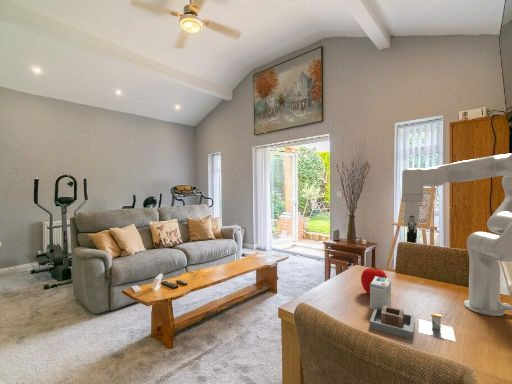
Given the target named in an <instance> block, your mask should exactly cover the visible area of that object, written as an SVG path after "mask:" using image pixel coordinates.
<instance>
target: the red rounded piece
mask: <svg viewBox="0 0 512 384" xmlns="http://www.w3.org/2000/svg"><path fill="white" fill-rule="evenodd" d="M375 276H377V277H382V278H388V275H387V274H386V272H385V271H384V270H383V269H381V268H377V267H376V266H374V267H368V268H365V269H364V270H363V271H362V273H361V275H360V283H361V285H362V288H363V290H364V291H365V293H367V294H368V295H370V283H371V282H372V281H373V279H374V277H375Z"/></svg>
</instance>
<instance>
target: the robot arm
mask: <svg viewBox="0 0 512 384" xmlns="http://www.w3.org/2000/svg"><path fill="white" fill-rule="evenodd" d="M401 177H402V178H401V182H402V183H401V184H402V185H401V203H404V208H403V209H404V210H403V226H404V227H407V232H406V242H407V243H412V244H416V243H417V238H418V229H417V228H418V227H419V222H420V211H421V210H420V209H421V208H420V207H421V205H420V204H422V203H424V187H440V186H443V185H445V184H446V183H464V182H472V181H478V180H483V179H484V180H485V179H490V178H496V177H502V178H501V185H502V188H503V192H504V199H503V201H502V203H500V205H499V206H498V207H497V208H496V209H495V211H494V212H493V213H492V215H490V217H489V218H488V220H487V222H486V227H487V229H488V230H489V231H490V232H488V231H487V232H486V231H475V232H472V233H471V234H470V235H468V237H467V239H466V248H467V253H468V258H469V263H468V265H469V267H468V269H469V270H468V271H469V273H468V299H465V300H464V301H463V305H464V307H466V309H468V310H470V311H472V312H475V313H476V314H477V313H478V314H481V315H486V316H492V317H503V316H505V314H506V311H510V312H511V311H512V305H511V304H510V303H506V302H505V303H504V302H502V301H501V300H500V298H501V297H500V295H501V294H500V293H501V291H500V290H501V265H500V262H502V263H511V262H512V152H511V153H505V154H496V155H489V156H484V157H479V158H472V159H468V160H467V159H466V160H462V161H457V162H453V163H449V164H443V165H436V166H432V167H426V168H417V167H415V168H411V167H410V168H404V169H403V170H402V173H401ZM491 232H492V233H491ZM505 310H506V311H505Z"/></svg>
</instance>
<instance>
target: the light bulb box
mask: <svg viewBox="0 0 512 384" xmlns="http://www.w3.org/2000/svg"><path fill="white" fill-rule="evenodd" d="M391 302H392V279H391V278H388V277H387V278H382V277H377V276H375V277H374V279H373V281H372V282H371V283H370V294H369V309H370V310H374V309H375V307H380V308H383V306H389V307H390V305H391Z"/></svg>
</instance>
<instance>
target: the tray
mask: <svg viewBox="0 0 512 384" xmlns="http://www.w3.org/2000/svg"><path fill="white" fill-rule="evenodd" d="M382 309H383V308H380V307H375V309H373V311H372V314H371V317H370V320H369V329H371V330H375V331H378V332H382V333H386V334H389V335H391V336H397V337H401V338H404V339H407V340H410V341H414V333H415V332H414V331H415V315H414V314H409V313H406V312H404V326H403V328H400V327H396V326H392V325H388V324H384V323H381V312H382Z"/></svg>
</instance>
